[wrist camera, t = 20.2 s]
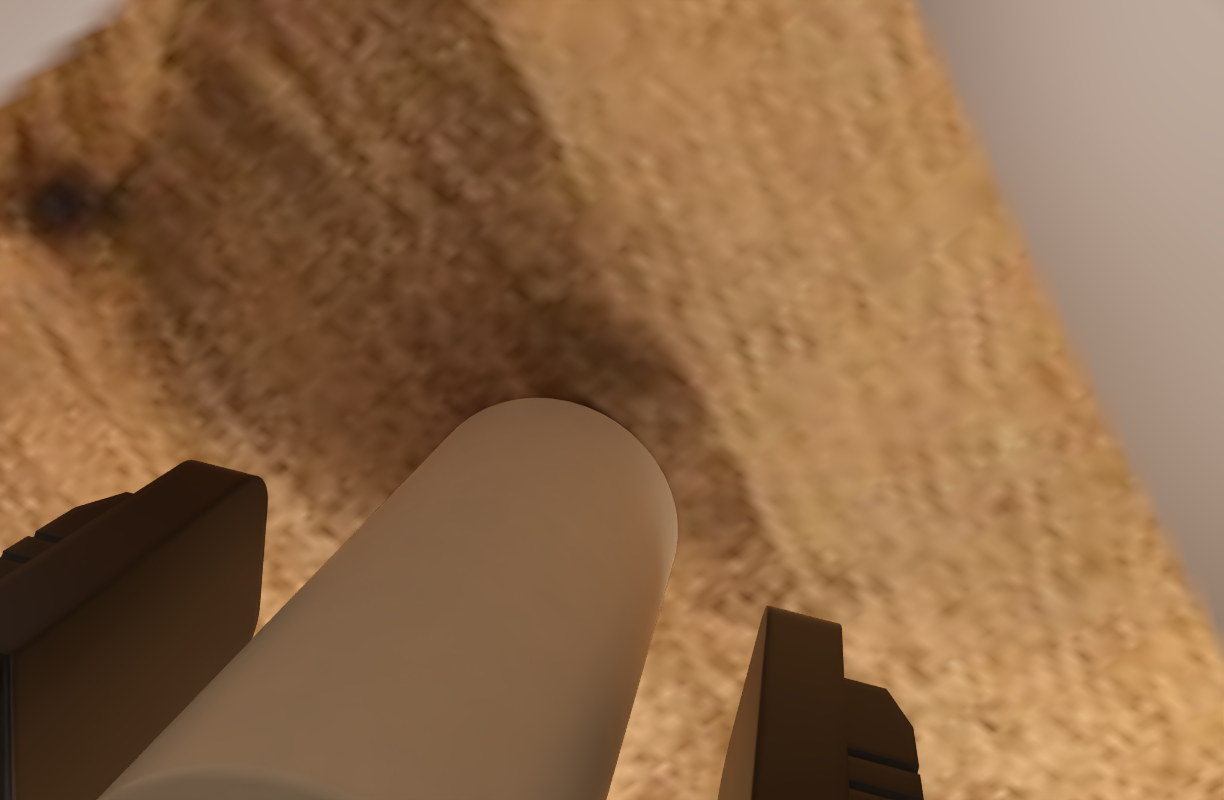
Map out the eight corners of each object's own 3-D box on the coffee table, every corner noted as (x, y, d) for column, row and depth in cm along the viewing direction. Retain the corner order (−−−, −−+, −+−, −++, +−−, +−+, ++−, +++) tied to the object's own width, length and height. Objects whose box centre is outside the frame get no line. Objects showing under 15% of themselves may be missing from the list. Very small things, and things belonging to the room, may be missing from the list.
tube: (385, 435, 13) (-52, 820, 6) (627, 363, 12) (408, 723, 6) (479, 658, 14) (173, 1206, 7) (712, 605, 13) (608, 1171, 6)
